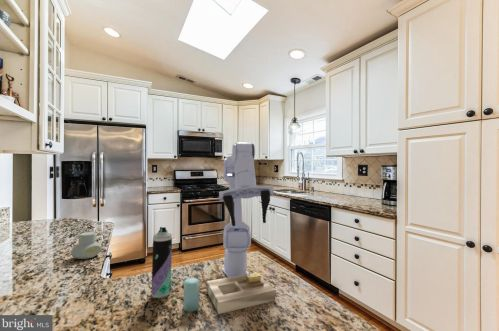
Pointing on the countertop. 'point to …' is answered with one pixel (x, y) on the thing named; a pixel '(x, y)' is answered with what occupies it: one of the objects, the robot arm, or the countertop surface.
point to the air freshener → (86, 246)
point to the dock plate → (238, 293)
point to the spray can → (161, 263)
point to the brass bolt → (253, 278)
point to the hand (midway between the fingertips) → (248, 223)
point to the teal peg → (191, 294)
